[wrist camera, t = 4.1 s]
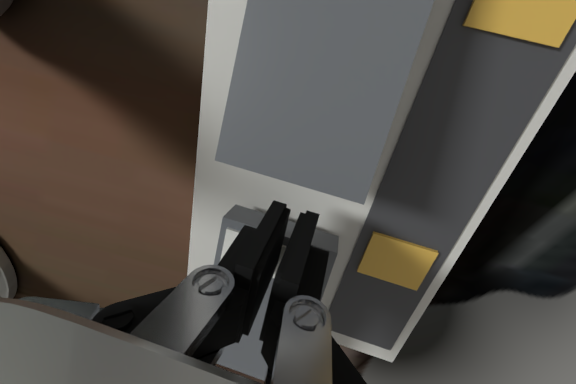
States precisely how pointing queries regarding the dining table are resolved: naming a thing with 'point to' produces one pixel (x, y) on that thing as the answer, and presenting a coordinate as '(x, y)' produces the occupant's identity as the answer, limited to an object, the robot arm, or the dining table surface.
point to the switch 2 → (249, 348)
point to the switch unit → (404, 158)
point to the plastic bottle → (4, 5)
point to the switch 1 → (319, 89)
